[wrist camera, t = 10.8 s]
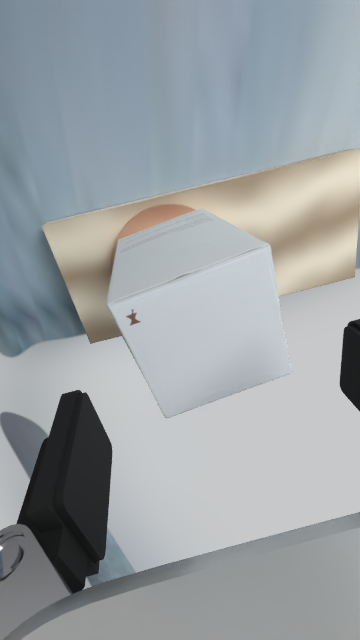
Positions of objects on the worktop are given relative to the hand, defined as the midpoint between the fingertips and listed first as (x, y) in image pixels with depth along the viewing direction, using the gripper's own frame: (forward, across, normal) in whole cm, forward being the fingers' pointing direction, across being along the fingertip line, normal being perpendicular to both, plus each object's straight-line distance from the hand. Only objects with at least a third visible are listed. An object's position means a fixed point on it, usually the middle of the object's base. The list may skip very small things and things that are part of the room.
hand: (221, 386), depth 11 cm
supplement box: (+16, 0, +1) cm, 16 cm away
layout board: (+19, -4, +1) cm, 19 cm away
